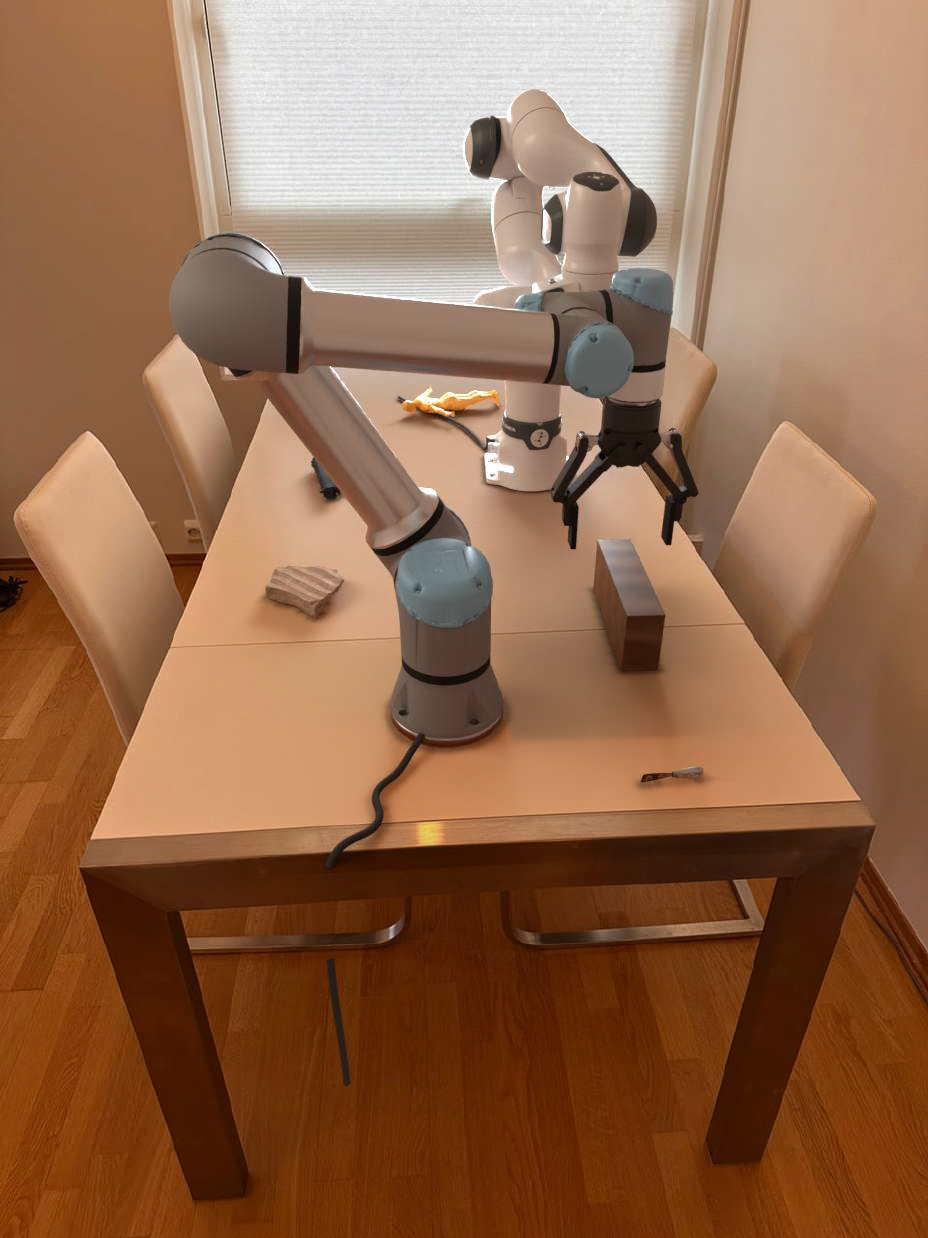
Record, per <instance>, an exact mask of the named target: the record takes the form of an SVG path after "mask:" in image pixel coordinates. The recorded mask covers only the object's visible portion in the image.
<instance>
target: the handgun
mask: <svg viewBox="0 0 928 1238" xmlns="http://www.w3.org/2000/svg"><path fill="white" fill-rule="evenodd" d="M310 466H311V467H312V469H313V471H314V473H315V475H316V478H317V482H318V485H319V487H320V489H321V490H319V494H322V495H323V497H324V498H325V499H326V500H336V498H337V495H338V496H340V495H341V491H340V490H339V489H338V488H337V486H336V485H335V484H334V482H333V481H332V480H331V479H330V477H329V476H328V475H327V473H326V472H325V471H324V470H323V468H322V467H321V466H320V464H319V463H318V462H317V461H316V459H315V458H314V457H313V456H312V458H311V460H310Z"/></svg>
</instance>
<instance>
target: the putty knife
mask: <svg viewBox="0 0 928 1238" xmlns="http://www.w3.org/2000/svg"><path fill="white" fill-rule="evenodd" d="M704 772H705V771H704V768H702V767H701V766H697V765H695V766H688V767H683V768H679V769H675V770H673V771H671V772H653V773H652V772H651V773H650V772H649V773H644V774H642V776H641V779H640V783H642V784H645V783H648V782H653V781H659V780H665V779H668V778H673V779H674V778H675V779H693V778H694V779H695V778H700V777H702V776H703V775H704Z"/></svg>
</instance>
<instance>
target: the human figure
mask: <svg viewBox="0 0 928 1238" xmlns="http://www.w3.org/2000/svg"><path fill="white" fill-rule="evenodd" d="M424 391H425V392H423V393H422V394H420V395H418V396H416V398H415V399H414V400H408V399H406V401H402V411H404V412H405V413H410V414H412V413H414V412H417V409H419V408H420V409H419V410H421V411H423V412H424V413H427V414H432V413H439V414H443V415H445V416H447V417H449V416H450V417H451V418H452V417H453V418H454V417H455V416H456V414H455V411H462V410H464V409H467V408H469V407H471V406H473V405H476V404H478V403H481V402H484V401H488V400H493V402H494V403H495V404H496V405H497V406H500V398H499V393H498V392H497V391H496V390H495V389H493V390H491V391H478V390H473V391H470V392H469V393H468V394H460V393H457V394H455V393H453V392H446V393H444V394H443V395H442V396H441V397H440V398H434V397H429V396H430V395H432V394H433V392H434V391H433V389H432V385H429V387H428V389H424ZM416 407H418V408H416ZM450 410H452V411H450ZM431 412H432V413H431Z"/></svg>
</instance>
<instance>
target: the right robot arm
mask: <svg viewBox="0 0 928 1238" xmlns="http://www.w3.org/2000/svg"><path fill="white" fill-rule="evenodd" d="M462 148H463V149H462V151H463V158H464V161H465V162H464V163H465V165H466V169H467V171H468V172H469V173H470V175H471V176H472V177H475V178H477V179H481V180H485V181H486V180H487V181H488V180H489V179H493V180H499V181H502V182H501V183H499V185H497V187H496V188H495V190H494V192H493V194H492V199H491V200H492V201H491V227H492V235H493V242H494V248H495V254H496V260H497V266H498V269H499V272H500V274H501V275H502V276H503V277H504V279H506V280H507V282H509V283H510V284H512V285H514V286H501V287H497V288H493V289H489V290H484V291H481V292H479V293H477V295H476V296H475V297H474V299H473V301H472V303H471V305H479V306H489V307H499V308H509V309H514V306H515V303H516V301H517V299H518V298H519V297H520V296H522V295H527V294H536V293H541V292H543V291H546V292H547V293H550V292H579V291H601V290H605V289H610V285H611V283H612V278H613V275H614V274H615V273H616V272H617V271H619V269H620V268H619V260H618V257H633V258H635V257H637V256H638V255H640V254H641V253H642V252H643V251H644V250H646V249H647V247H648V246H649V245H650V244H651V242H652V241H653V240H654V239H655V236H656V233H657V226H658V215H657V209H656V205H655V203H654V201H653V200H652V199H651V197H650V195H649V194H648V193H647V192H646V191H645V190H644V189H642V188H640V187H638V186H636V185H635V184H634V183H633V181H632V180H631V179H630V178H629V176H627V174H626V173H625V172H624V171H623V169H622V168H621V167H620V166H619V164H618V163H617V162H616V161H615V159H614V158H613V157H612V156H611V155H610V154H609V152H608V151H606V149H605V148H603V147H602V146H600V145H599V144H597V143H596V142H594V141H592V140H591V139H589V138H588V137H586V136H585V135H583V134H582V133H581V132H580V131H579V130H578V129H577V128H575V127H574V126H573V124H572V122H570V121H569V118H568V117H567V115H566V113H565V111H564V110H563V108H562V106H561V105H560V104H559V103H558V101H556V99H554V97H552V96H551V95H550V94H549V92H546V91H544V90H542V89H538V88H531V89H527V90H524V91H522V92H521V93H519V94H518V95H517V96H515V98H514V99H513V100H512V101H511V104H510V105H509V107H508V110H507V115H506V116H494V115H488V116H485V117H480V118H478V119H474V120H473V121H472V122H471V123H470V124H469V126H468V127H467V129H466V133H465V137H464V139H463V145H462ZM545 187H546V188H547V189H548V190H549V191H553V190H555V189H556V188H558V189H559V188H560V189H566V190H564V191H562V192H560V193H555V194H553V195H552V197H550V198H549V199H548V201H547V202H546V203H545V204H544V198H543V196H544V190H545V189H544V188H545ZM558 256H560V257H563V261H562V262H560V260H559V258H558ZM503 382H504V394H505V396H504V398H505V399H504V400H505V402H504V403H505V405H504V406H505V409H504V412H503V413H502V419H501V429H500V431H498V433H496V434H492V435H486V438H485V445H484V444H483V442H481V440H480V438H479V437H478V436H477V435H476V434H475V433H474V432H473V431H472V430H471V429H470V428H469V427H467V426H466V425H464V424H463V423H461V422H460V421H458V420H456V419H454V418H452V417H451V416H450V417H449V416H445V415H443V414H439V413H432V412H431V413H430V414H432V415H435V416H437V417H440V418H442V419H444V420H447V421H449V422H451V423H453V424H455V425H457V426H459V427H460V428H462V429H464V430H465V431H466V432H468V434H469V435H470V436H471V437H472V438H473V439H474V440H475V441H476V442H477V444H478V446H479V447H480V448H481V449H483V450H484V451H486V450H487V452H485V454H484V458H483V459H484V460H483V462H484V472H485V473H484V474H485V482H486V484H490V485H495V486H501V487H504V488H507V489H510V490H513V491H514V490H515V491H519V492H544V491H550V489H551V488H552V486H553V484H554V482H555V481H556V479H557V477H558V475H559V473H560V472H561V470H562V468H563V466H564V465H565V463H566V461H567V459H568V458H569V456H568V440H567V438H565V436H564V435H562V434H561V433H562V426H563V420H562V419H563V418H562V413H561V397H562V396H561V395H562V386H561V385H551V384H541V383H529V382H516V381H504V380H503ZM397 399H398V400H400V401H402V402H404V401H406V400H407V399H406V398H405V397H402V396H400V395H397ZM416 409H419V410H421V409H420V408H418V407H416Z"/></svg>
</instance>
